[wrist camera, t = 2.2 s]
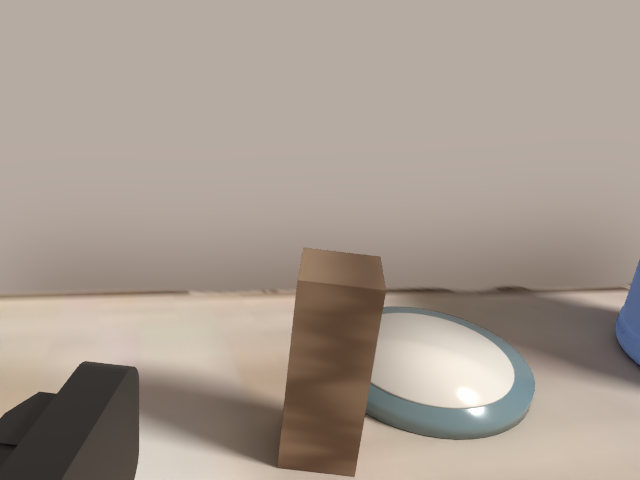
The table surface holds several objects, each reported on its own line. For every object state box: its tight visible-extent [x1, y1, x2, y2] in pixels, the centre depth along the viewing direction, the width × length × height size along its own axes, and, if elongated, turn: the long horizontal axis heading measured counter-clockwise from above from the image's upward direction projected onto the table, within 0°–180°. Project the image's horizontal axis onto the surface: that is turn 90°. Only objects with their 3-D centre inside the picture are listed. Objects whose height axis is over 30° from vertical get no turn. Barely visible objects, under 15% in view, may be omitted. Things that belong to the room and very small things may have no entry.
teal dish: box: [365, 307, 535, 439], centre depth 44 cm, size 16×16×1 cm
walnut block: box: [277, 248, 386, 477], centre depth 33 cm, size 4×4×12 cm
